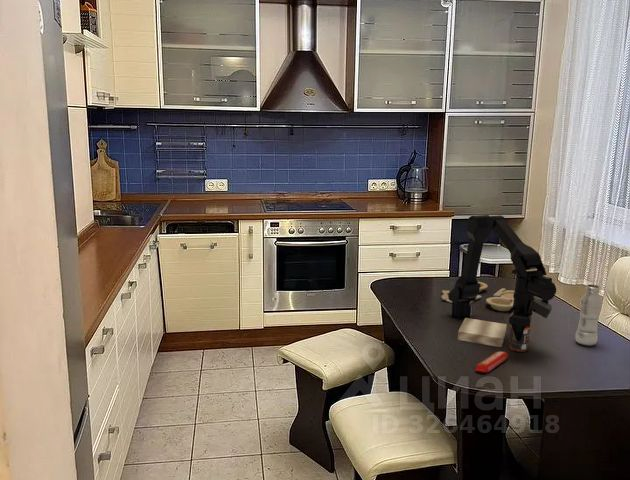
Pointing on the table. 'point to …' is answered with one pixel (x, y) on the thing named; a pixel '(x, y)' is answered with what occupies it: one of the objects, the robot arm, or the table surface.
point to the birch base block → (482, 332)
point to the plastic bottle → (589, 316)
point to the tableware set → (492, 298)
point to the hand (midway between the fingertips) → (519, 337)
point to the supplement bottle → (519, 345)
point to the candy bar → (491, 362)
